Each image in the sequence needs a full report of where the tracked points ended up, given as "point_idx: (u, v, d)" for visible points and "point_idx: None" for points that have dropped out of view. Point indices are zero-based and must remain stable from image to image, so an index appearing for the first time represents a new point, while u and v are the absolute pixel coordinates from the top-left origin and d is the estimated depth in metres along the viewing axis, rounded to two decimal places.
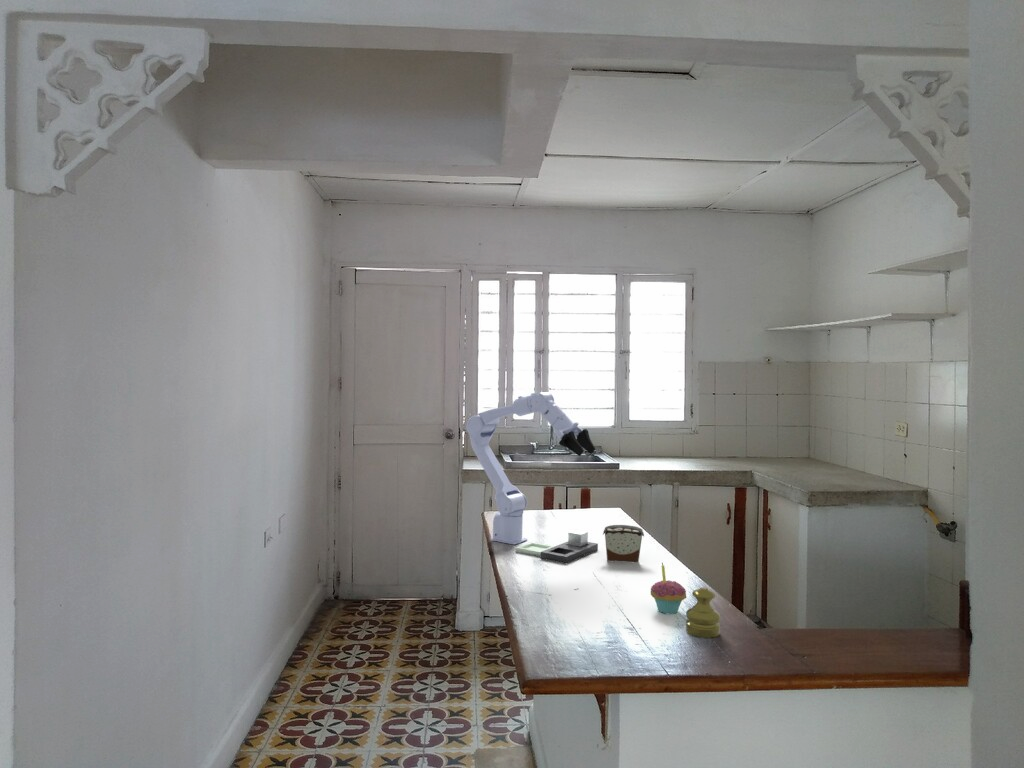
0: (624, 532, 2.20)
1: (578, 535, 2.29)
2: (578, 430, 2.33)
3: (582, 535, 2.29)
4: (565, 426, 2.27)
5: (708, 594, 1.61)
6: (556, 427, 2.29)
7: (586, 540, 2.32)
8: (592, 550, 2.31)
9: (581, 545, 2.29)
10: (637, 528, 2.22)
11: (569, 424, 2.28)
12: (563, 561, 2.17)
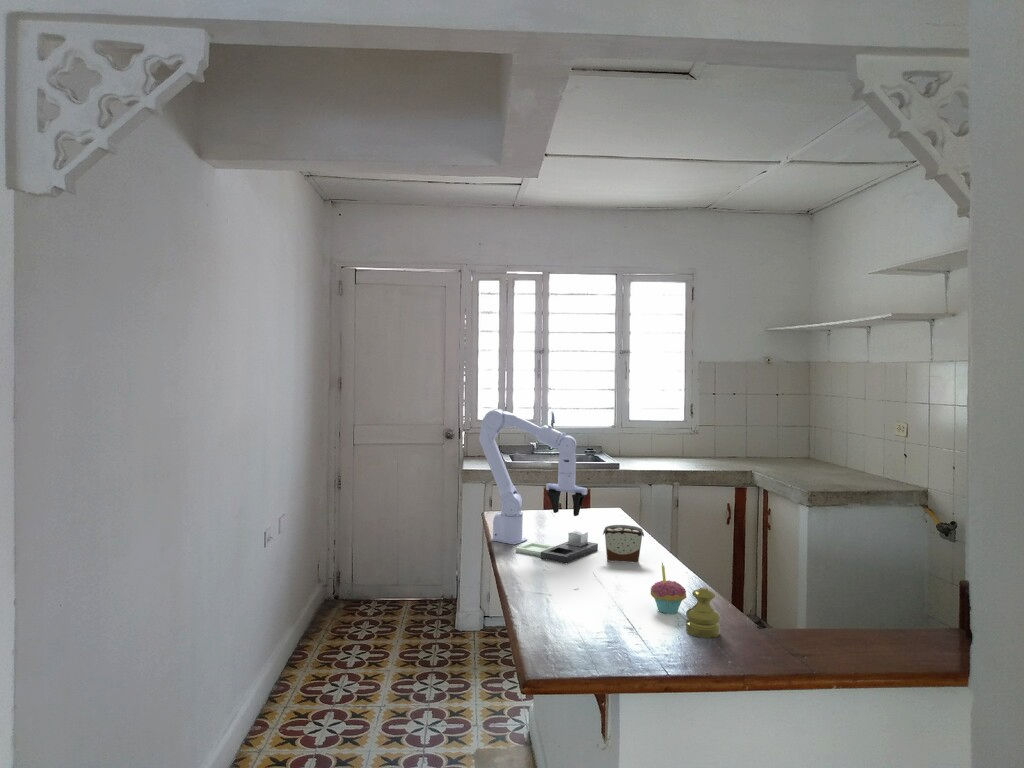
0: (624, 532, 2.20)
1: (578, 535, 2.29)
2: None
3: (582, 535, 2.29)
4: None
5: (708, 594, 1.61)
6: (572, 478, 2.37)
7: (586, 540, 2.32)
8: (592, 550, 2.31)
9: (581, 545, 2.29)
10: (637, 528, 2.22)
11: None
12: (563, 561, 2.17)
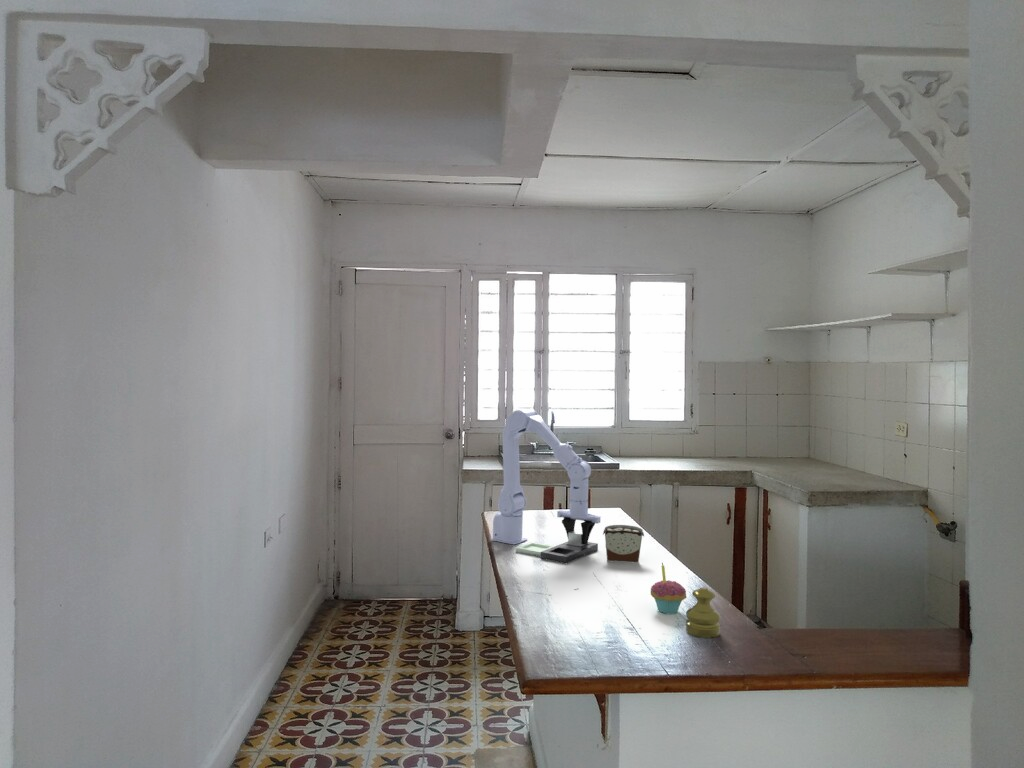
0: (624, 532, 2.20)
1: (578, 535, 2.29)
2: None
3: None
4: (587, 511, 2.31)
5: (708, 594, 1.61)
6: (584, 506, 2.29)
7: None
8: (592, 550, 2.31)
9: (581, 545, 2.29)
10: (637, 528, 2.22)
11: None
12: (563, 561, 2.17)
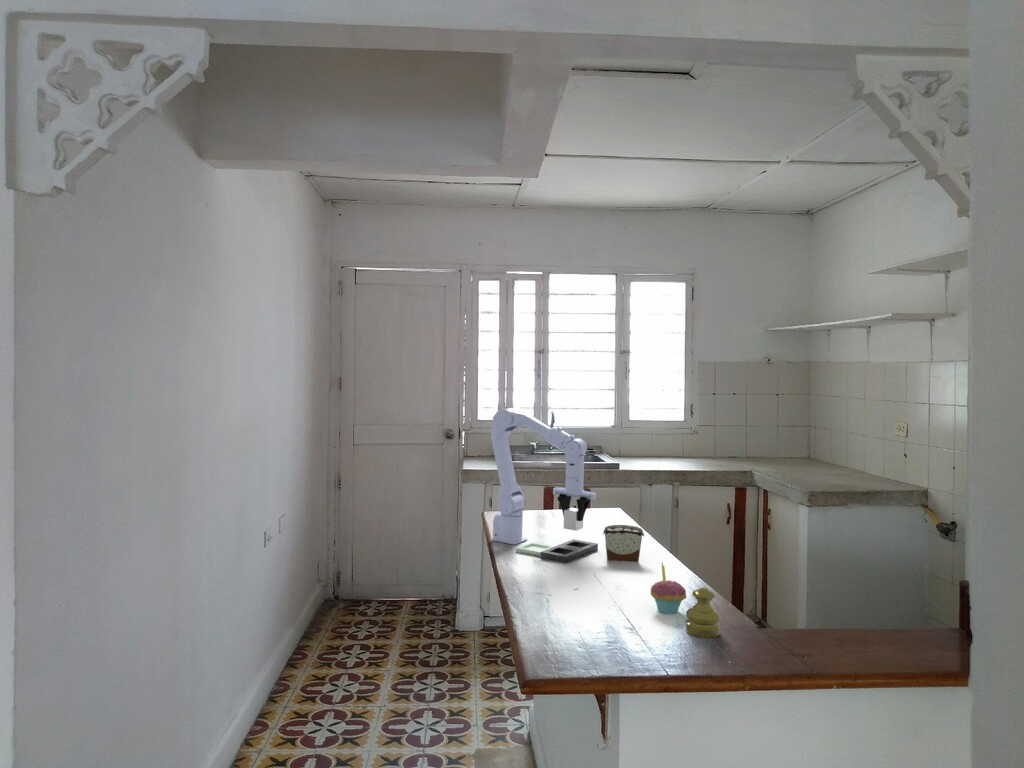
0: (624, 532, 2.20)
1: (574, 512, 2.30)
2: None
3: None
4: None
5: (708, 594, 1.61)
6: (580, 482, 2.29)
7: None
8: (592, 550, 2.31)
9: (577, 522, 2.30)
10: (637, 528, 2.22)
11: None
12: (563, 561, 2.17)
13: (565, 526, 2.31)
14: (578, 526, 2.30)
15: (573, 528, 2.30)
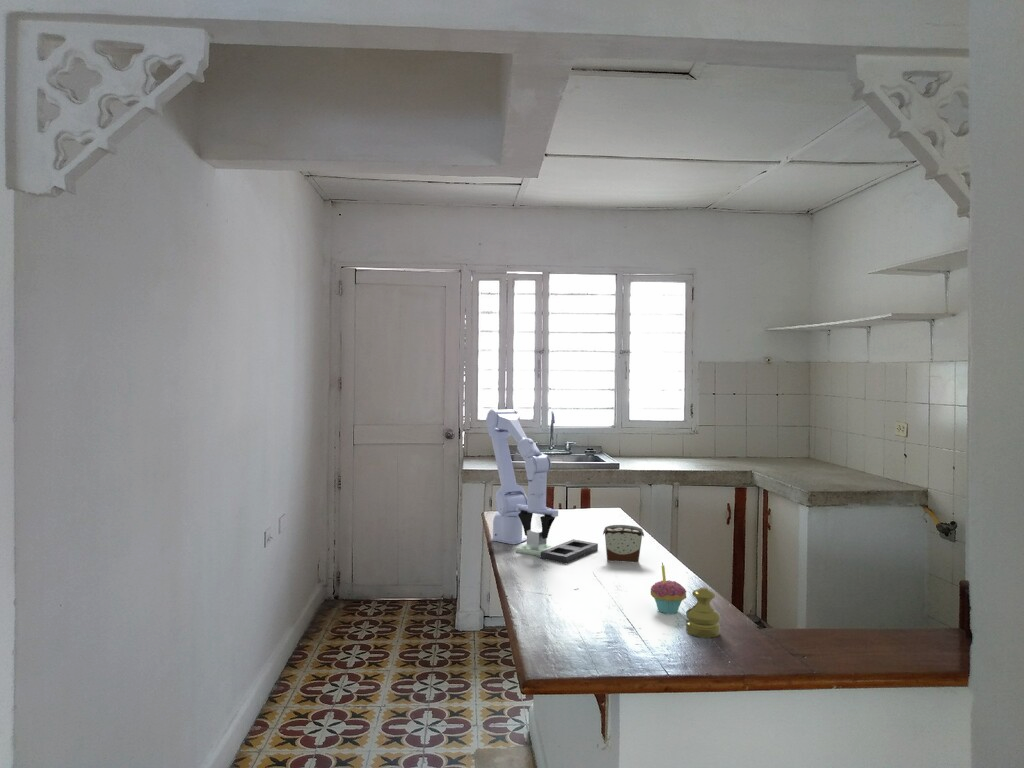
0: (624, 532, 2.20)
1: (536, 533, 2.27)
2: None
3: (540, 533, 2.28)
4: (545, 504, 2.29)
5: (708, 594, 1.61)
6: (542, 499, 2.27)
7: (545, 538, 2.30)
8: (592, 550, 2.31)
9: (539, 543, 2.27)
10: (637, 528, 2.22)
11: None
12: (563, 561, 2.17)
13: (528, 547, 2.29)
14: (541, 547, 2.28)
15: (536, 549, 2.28)
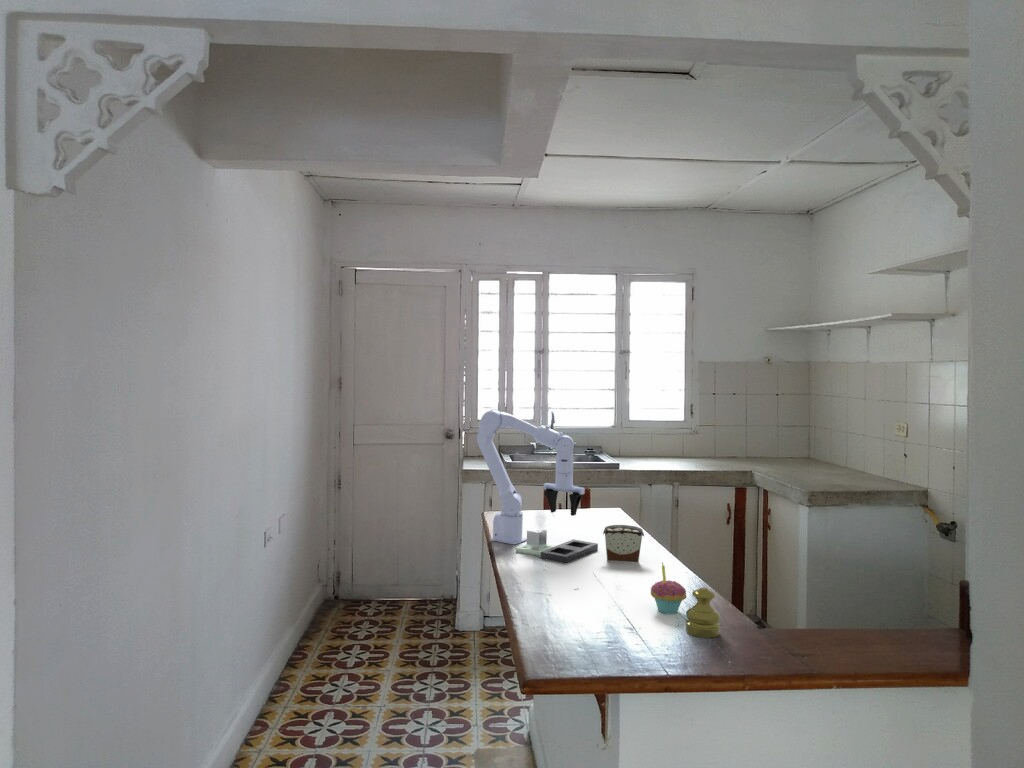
0: (624, 532, 2.20)
1: (536, 533, 2.27)
2: None
3: (540, 533, 2.28)
4: (572, 483, 2.40)
5: (708, 594, 1.61)
6: (569, 478, 2.38)
7: (545, 538, 2.30)
8: (592, 550, 2.31)
9: (539, 543, 2.27)
10: (637, 528, 2.22)
11: None
12: (563, 561, 2.17)
13: (528, 547, 2.29)
14: (541, 547, 2.28)
15: (536, 549, 2.28)
